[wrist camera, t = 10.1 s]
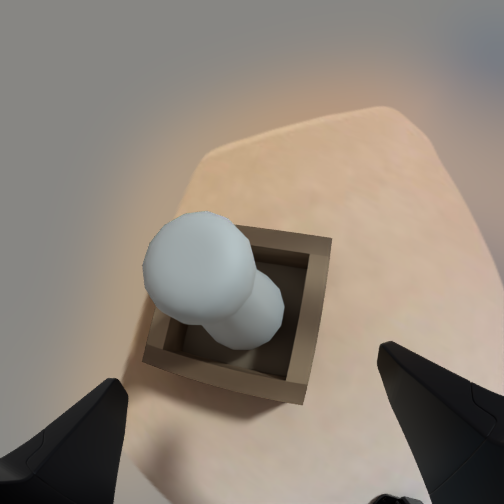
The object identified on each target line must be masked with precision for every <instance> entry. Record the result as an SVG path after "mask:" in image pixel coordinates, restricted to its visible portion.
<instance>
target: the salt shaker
mask: <svg viewBox="0 0 504 504" xmlns="http://www.w3.org/2000/svg"><path fill="white" fill-rule="evenodd" d="M142 266H143V276H144V285H145V289H146V290H147V292H148V294H149V295H150V297H151V299H152V300H153V302H154V304H155V305H156V307H157V308H158V309H159V310H161V311H162V312H163V313H165V314H167V315H168V316H170V317H172V318H174V319H176V320H178V321H180V322H182V323H184V324H189V325H202V326H203V327H204V328H205V329H206V331H207V332H208V333H209V334H210V335H211V336H212V337H213V338H214V340H215V341H216V342H218V343H220V344H222V345H224V346H226V347H228V348H231V349H233V350H253V349H255V348H257V347H259V346H261V345H262V344H264V343H266V342H268V341H270V340H271V338H272V337H273V336H274V334H275V333H276V332H277V330H278V329H279V328H280V326H281V323H282V318H283V313H284V303H283V300H282V296H281V293H280V289H279V288H278V287H277V286H276V285H275V284H274V283H273V282H272V281H271V279H270V278H269V277H268V276H266V275H265V274H263V273H262V272H260V271H259V270H257V269H256V265H255V261H254V257H253V253H252V249H251V246H250V242H249V240H248V239H247V238H246V237H245V236H244V235H243V233H242V232H241V231H240V230H239V229H238V228H237V227H236V226H235V225H234V224H233V223H232V222H231V221H230V220H229V219H228V218H226V217H223V216H220V215H217V214H214V213H211V212H208V211H202V212H195V213H187V214H183V215H181V216H180V217H178V218H176V219H174V220H172V221H171V222H169V223H167V224H165V225H164V226H163V227H162V228H161V230H160V231H159V232H158V233H157V235H156V236H155V237H154V238H153V240H152V241H151V242H150V244H149V247H148V250H147V253H146V256H145V259H144V262H143V265H142Z"/></svg>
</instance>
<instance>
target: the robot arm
mask: <svg viewBox="0 0 504 504" xmlns="http://www.w3.org/2000/svg"><path fill="white" fill-rule="evenodd" d="M377 366H378V370H379V373H380V375H381V378H382V381H383V384H384V387H385V390H386V393H387V396H388V399H389V402H390V404H391V407H392V409H393V411H394V413H395V415H396V418H397V420H398V422H399V424H400V426H401V428H402V431H403V433H404V435H405V437H406V440H407V442H408V444H409V447H410V449H411V451H412V454H413V456H414V458H415V461H416V463H417V465H418V468H419V470H420V473H421V475H422V478H423V480H424V483H425V485H426V488H427V491H428V493H429V496H430V499H431V502H432V504H504V396H502V395H499V394H497V393H494V392H492V391H489V390H487V389H485V388H483V387H481V386H479V385H477V384H475V383H473V382H471V383H470V381H469V380H467V379H465V378H463V377H461V376H459V375H457V374H455V373H453V372H451V371H449V370H447V369H445V368H443V367H441V366H439V365H437V364H435V363H433V362H432V361H430V360H428V359H426V358H424V357H422V356H420V355H418V354H416V353H414V352H412V351H410V350H408V349H406V348H405V347H403V346H401V345H399V344H397V343H395V342H393V341H388V342H385V343H382V344H380V346H379V352H378V359H377ZM127 408H128V394H127V392H126V390H125V389H124V387H123V386H122V384H121V382H120V381H119V380H118V379H116V378H107V379H106V380H105V381H103V382H102V383H101V384H100V385H98V386H97V387H96V388H95V389H93V390H92V391H91V392H90V393H88V394H87V395H86V396H85V397H83V398H82V399H81V400H80V401H78V402H77V403H76V404H75V405H73V406H72V407H71V408H70V409H68V410H67V411H66V412H65V413H63V414H62V415H61V416H60V417H58V418H57V419H56V420H54V421H53V422H52V423H51V424H49V425H48V426H47V427H46V428H45V429H43V430H42V431H41V432H39V433H38V434H37V435H36V436H34V437H33V438H31V439H30V440H29V441H27V442H26V443H25V444H23V445H21V446H20V447H18V448H17V449H15V450H14V451H12V452H10V453H9V454H7V455H5V456H4V457H2V458H0V504H113V502H114V493H115V487H116V480H117V473H118V468H119V462H120V456H121V451H122V446H123V441H124V435H125V428H126V417H127ZM383 498H386V499H384V500H382V499H383ZM373 504H423V503H422V502H421V501H420V500H416V499H412V498H409V497H405V496H404V497H401V498H399V497H395V496H392V495H389V494H383V495H381V496H380V497H379V498H378V499H377V500H376V501H375V502H374V503H373Z"/></svg>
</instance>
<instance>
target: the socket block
mask: <svg viewBox="0 0 504 504" xmlns="http://www.w3.org/2000/svg"><path fill="white" fill-rule="evenodd" d="M235 226H236V227H237V228H238V229H239V230H240V231H241V232H242V233H243V235H244V236H245V237H246V238H247V239H248V240H249V242H250V246H251V249H252V253H253V257H254V261H255V265H256V269H257V270H259V271H260V272H262V273H263V274H265V275H266V276H268V277H269V278H270V279H271V281H272V282H273V283H274V284H275V285H276V286H277V287H278V288H279V289H280V293H281V296H282V300H283V303H284V313H283V318H282V323H281V326H280V328H279V329H278V330H277V332H276V333H275V334H274V336H273V337H272V338H271V340H270V341H268V342H266V343H264V344H262V345H261V346H259V347H257V348H255V349H253V350H233V349H231V348H228V347H226V346H224V345H222V344H220V343H218V342H216V341H215V340H214V338H213V337H212V336H211V335H210V334H209V333H208V332H207V331H206V329H205V328H204V327H203V326H202V325H189V324H184V323H182V322H180V321H178V320H176V319H174V318H172V317H170V316H168V315H167V314H165V313H163V312H162V311H161V310H159V309H158V308H157V307H156V308H155V311H154V315H153V319H152V323H151V327H150V331H149V335H148V339H147V343H146V347H145V352H144V356H143V360H142V362H144V363H147V364H149V365H152V366H155V367H157V368H160V369H163V370H166V371H168V372H171V373H174V374H177V375H180V376H183V377H186V378H189V379H192V380H196V381H199V382H202V383H206V384H209V385H212V386H216V387H220V388H223V389H227V390H231V391H235V392H239V393H243V394H247V395H252V396H256V397H261V398H265V399H270V400H275V401H281V402H286V403H292V404H298V405H303V402H304V398H305V394H306V390H307V385H308V381H309V376H310V372H311V367H312V362H313V358H314V353H315V348H316V342H317V337H318V332H319V326H320V320H321V315H322V308H323V302H324V296H325V289H326V282H327V275H328V268H329V260H330V252H331V243H332V238H327V237H321V236H314V235H307V234H300V233H293V232H286V231H279V230H271V229H264V228H256V227H249V226H241V225H235Z"/></svg>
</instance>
